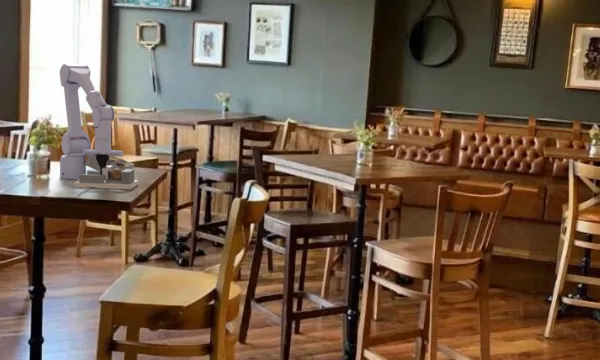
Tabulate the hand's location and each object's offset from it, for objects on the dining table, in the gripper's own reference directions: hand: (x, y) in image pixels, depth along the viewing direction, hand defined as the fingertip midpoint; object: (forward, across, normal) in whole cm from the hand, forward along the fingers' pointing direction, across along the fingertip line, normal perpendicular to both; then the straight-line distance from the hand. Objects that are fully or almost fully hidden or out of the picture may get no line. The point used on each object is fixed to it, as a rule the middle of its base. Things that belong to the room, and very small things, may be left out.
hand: (102, 174), depth 282 cm
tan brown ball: (0, +5, 0) cm, 5 cm away
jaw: (+1, +2, 0) cm, 2 cm away
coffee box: (+1, +6, +14) cm, 16 cm away
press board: (+4, +1, 0) cm, 4 cm away
